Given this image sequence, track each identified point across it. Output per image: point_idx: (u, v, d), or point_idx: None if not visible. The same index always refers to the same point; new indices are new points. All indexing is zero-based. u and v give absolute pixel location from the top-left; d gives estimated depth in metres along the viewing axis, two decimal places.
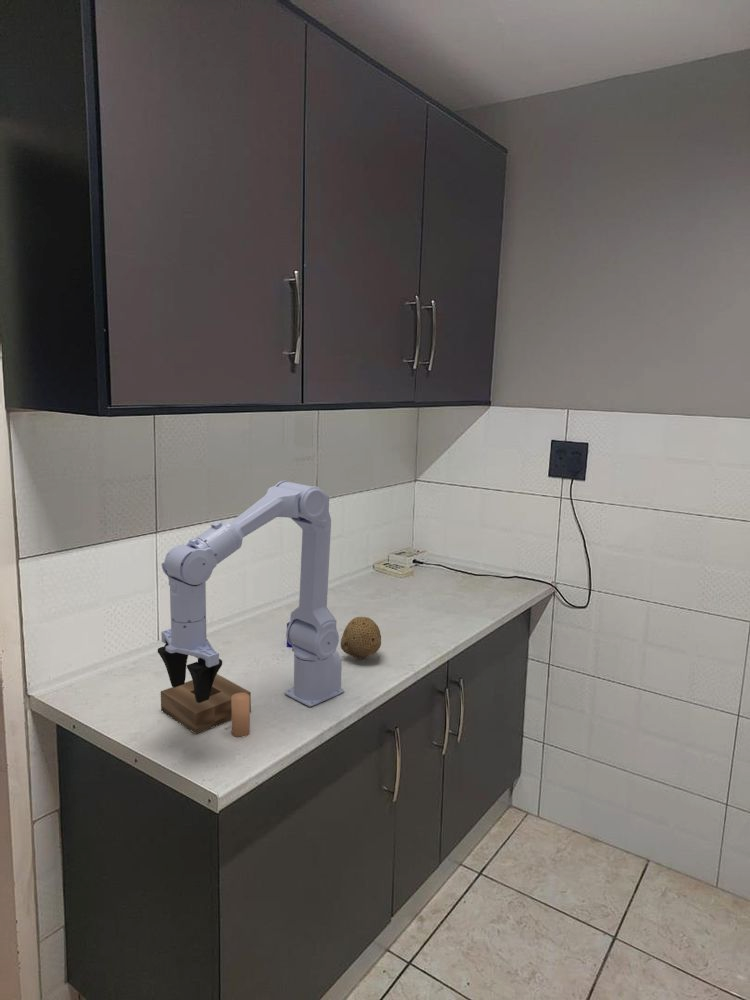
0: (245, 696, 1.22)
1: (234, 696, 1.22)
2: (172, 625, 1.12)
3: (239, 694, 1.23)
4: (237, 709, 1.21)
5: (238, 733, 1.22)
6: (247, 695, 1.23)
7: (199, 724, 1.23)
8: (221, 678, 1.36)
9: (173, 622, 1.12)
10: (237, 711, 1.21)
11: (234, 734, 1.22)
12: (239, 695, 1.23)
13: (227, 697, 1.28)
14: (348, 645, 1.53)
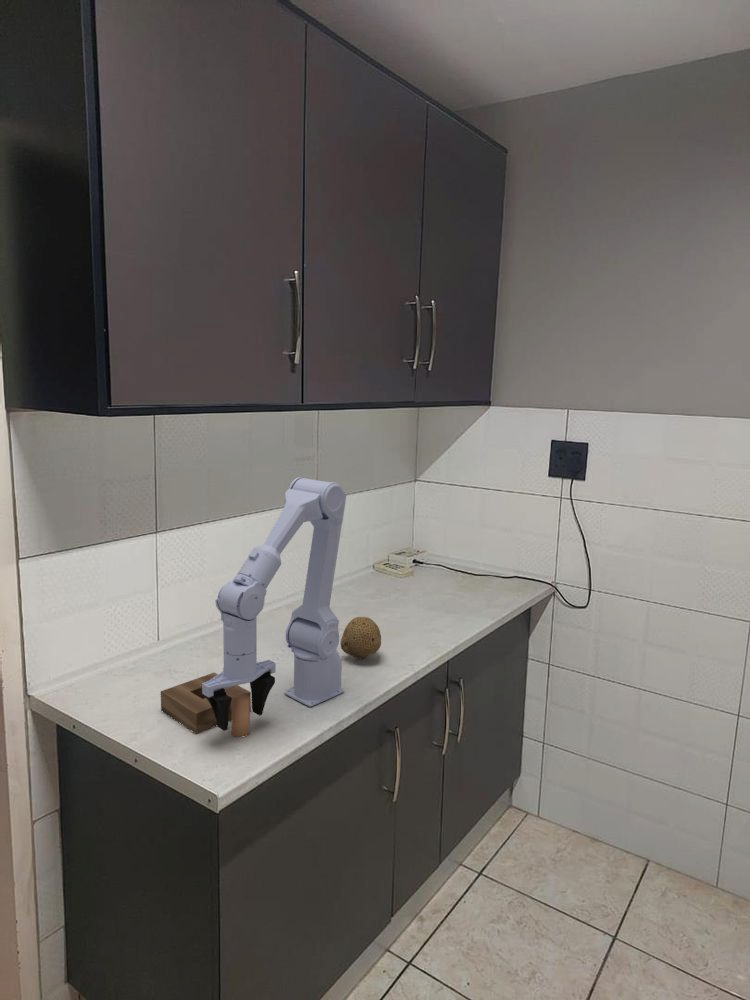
0: (245, 696, 1.22)
1: (234, 696, 1.22)
2: None
3: (239, 694, 1.23)
4: (237, 709, 1.21)
5: (238, 733, 1.22)
6: (247, 695, 1.23)
7: (199, 724, 1.23)
8: None
9: None
10: (237, 711, 1.21)
11: (234, 734, 1.22)
12: (239, 695, 1.23)
13: None
14: (348, 645, 1.53)
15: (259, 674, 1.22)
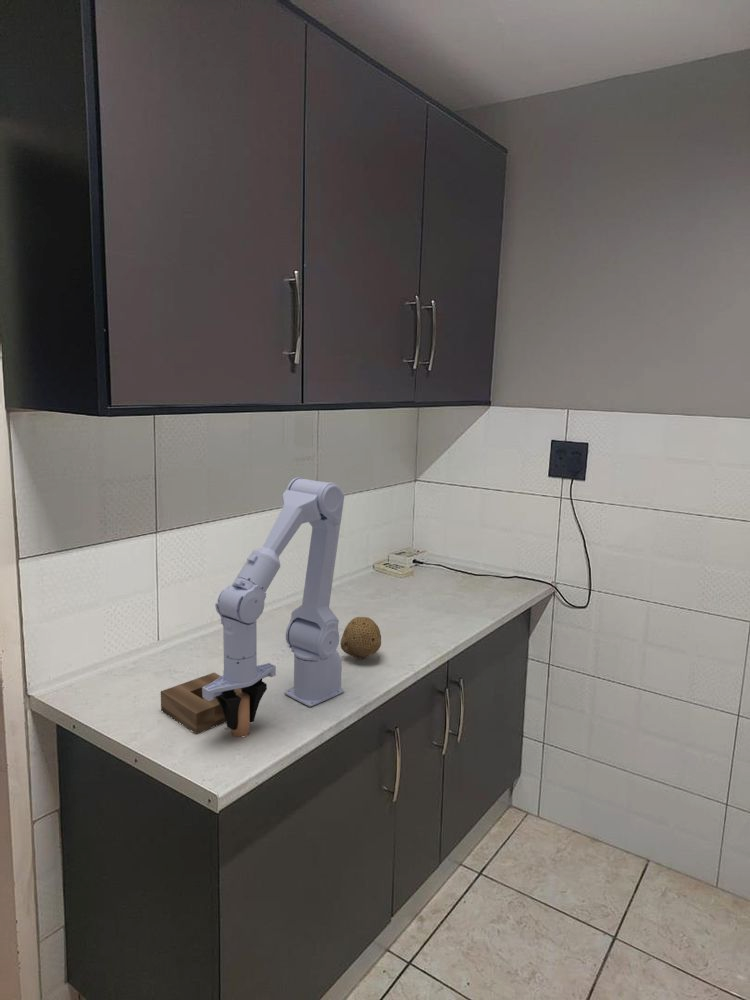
0: (245, 696, 1.22)
1: None
2: None
3: (239, 694, 1.23)
4: None
5: (238, 733, 1.22)
6: (247, 695, 1.23)
7: (199, 724, 1.23)
8: None
9: None
10: None
11: (234, 734, 1.22)
12: (239, 695, 1.23)
13: None
14: (348, 645, 1.53)
15: (259, 677, 1.22)
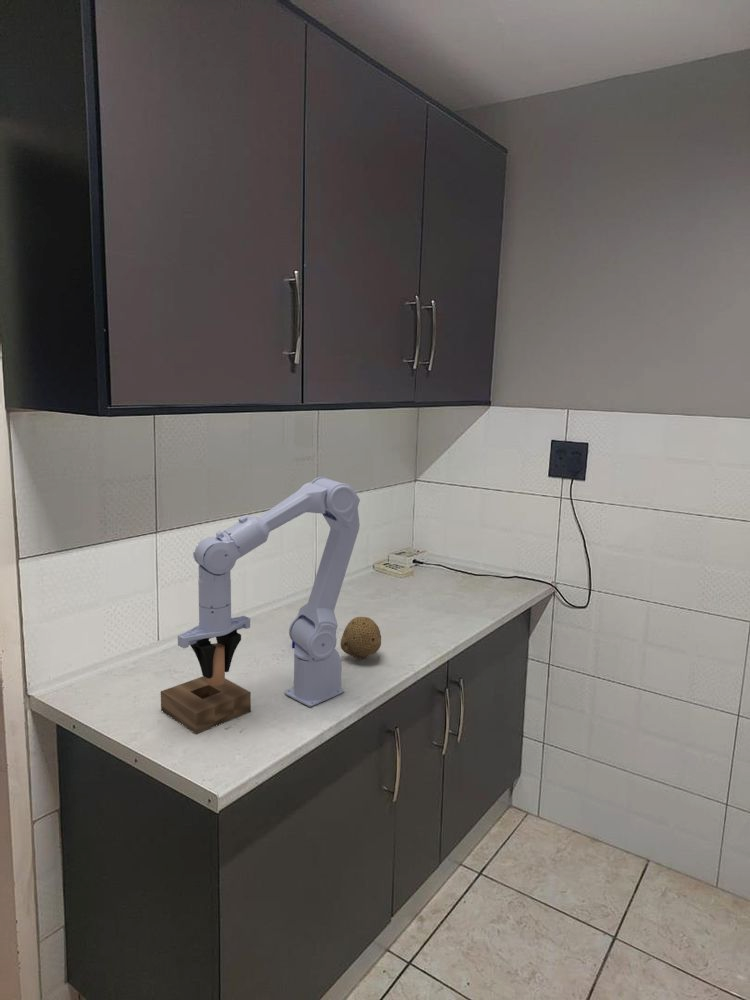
0: (220, 646, 1.26)
1: None
2: None
3: (214, 644, 1.27)
4: None
5: (213, 682, 1.25)
6: (222, 645, 1.26)
7: (199, 724, 1.23)
8: None
9: None
10: None
11: (209, 683, 1.26)
12: None
13: (227, 697, 1.28)
14: (348, 645, 1.53)
15: (234, 628, 1.25)
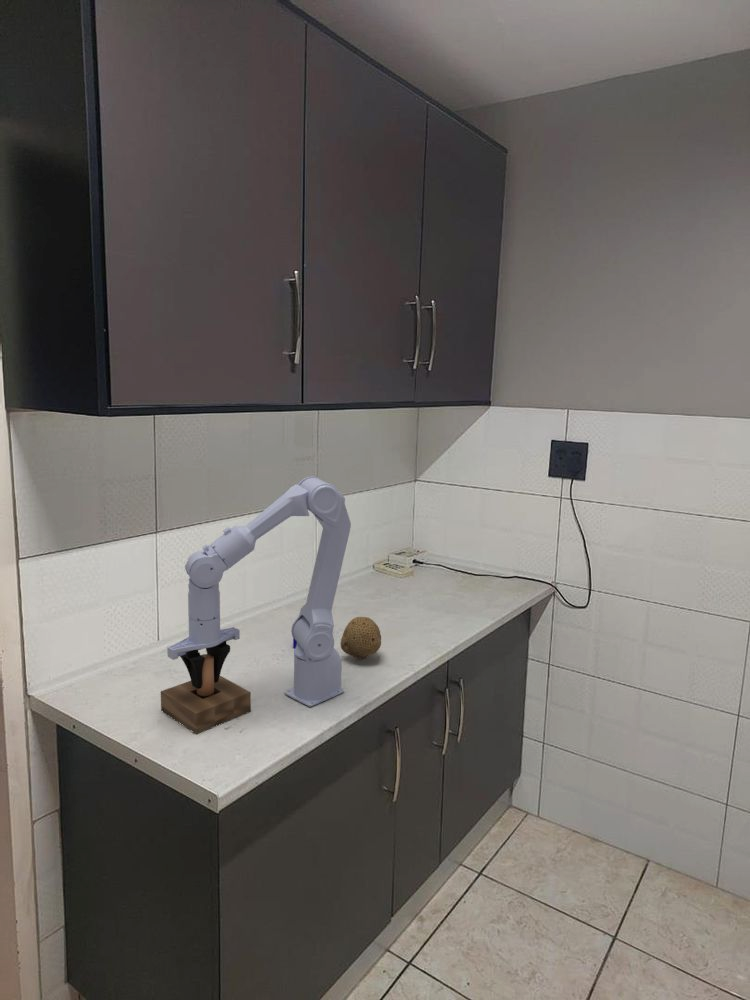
0: (209, 657, 1.29)
1: None
2: None
3: (204, 655, 1.30)
4: (202, 669, 1.28)
5: (202, 692, 1.28)
6: (211, 656, 1.29)
7: (199, 724, 1.23)
8: (221, 678, 1.36)
9: None
10: None
11: (198, 693, 1.29)
12: (203, 656, 1.29)
13: (227, 697, 1.28)
14: (348, 645, 1.53)
15: (223, 639, 1.28)
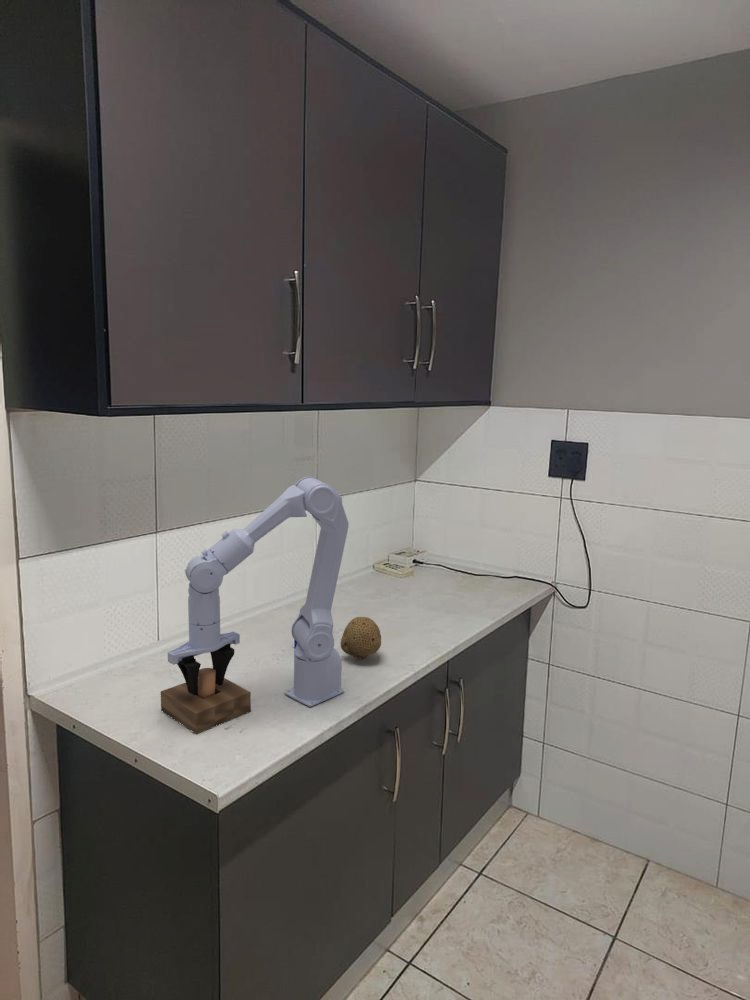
0: (211, 671, 1.30)
1: (201, 670, 1.30)
2: None
3: (205, 669, 1.30)
4: (203, 682, 1.28)
5: None
6: (213, 670, 1.30)
7: (199, 724, 1.23)
8: None
9: None
10: (202, 685, 1.28)
11: None
12: (205, 670, 1.30)
13: (227, 697, 1.28)
14: (348, 645, 1.53)
15: (223, 644, 1.29)
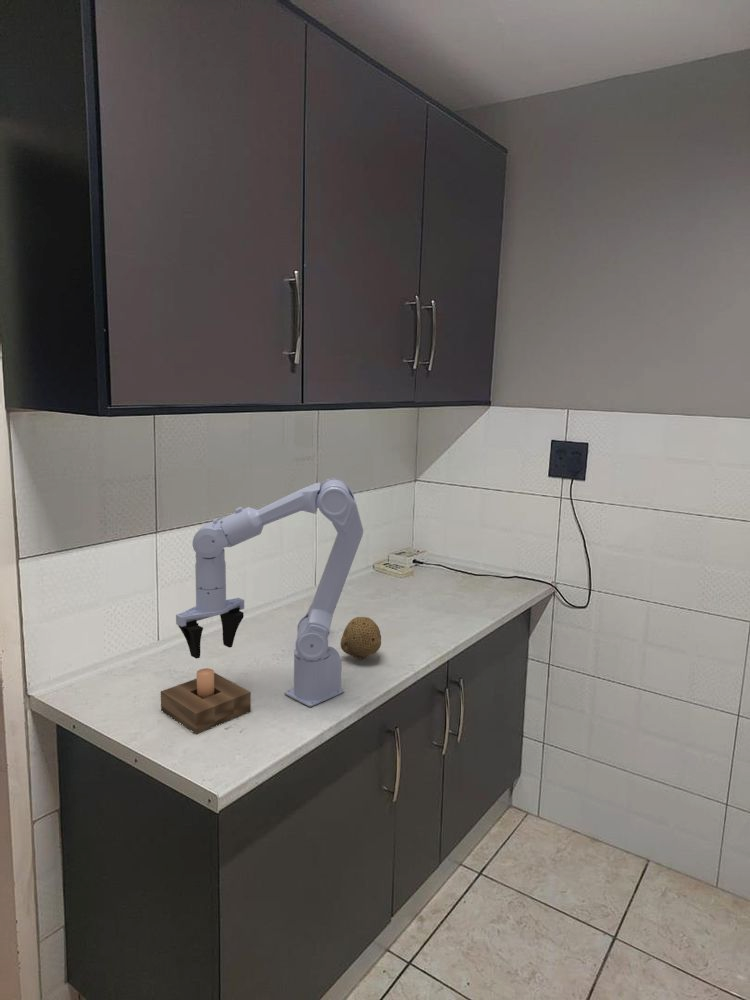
0: (210, 671, 1.29)
1: (199, 671, 1.29)
2: None
3: (204, 670, 1.30)
4: (202, 683, 1.28)
5: None
6: (212, 671, 1.30)
7: (199, 724, 1.23)
8: (221, 678, 1.36)
9: None
10: (201, 686, 1.28)
11: None
12: (204, 671, 1.30)
13: (227, 697, 1.28)
14: (348, 645, 1.53)
15: (228, 608, 1.34)
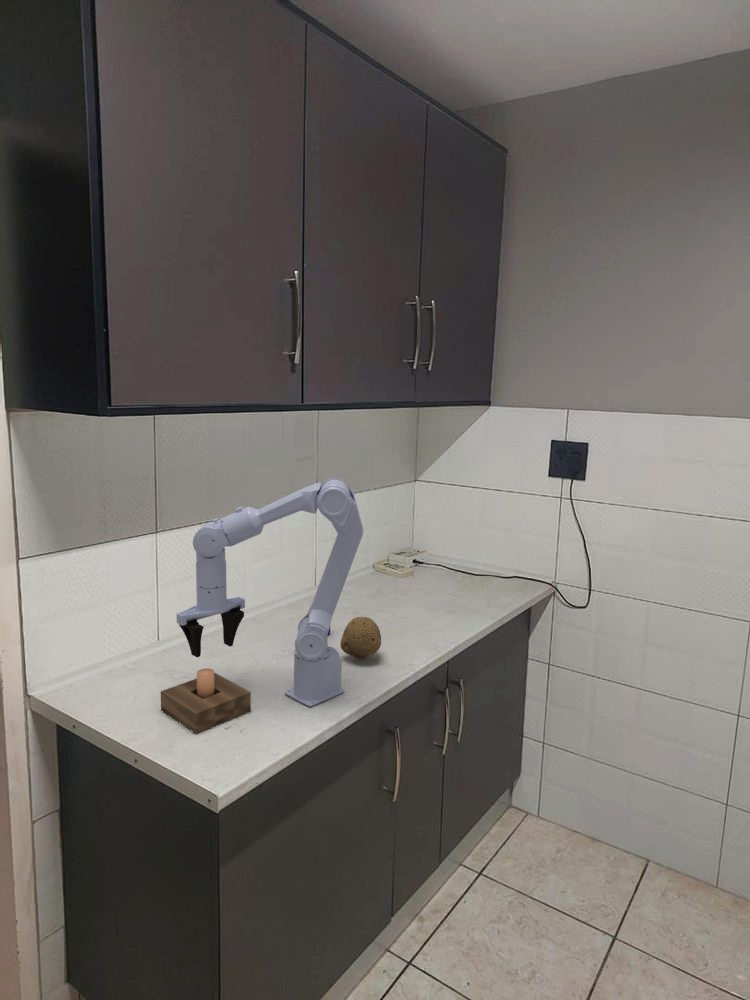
0: (210, 671, 1.29)
1: (199, 671, 1.29)
2: None
3: (204, 670, 1.30)
4: (202, 683, 1.28)
5: None
6: (212, 671, 1.30)
7: (199, 724, 1.23)
8: (221, 678, 1.36)
9: None
10: (201, 686, 1.28)
11: None
12: (204, 671, 1.30)
13: (227, 697, 1.28)
14: (348, 645, 1.53)
15: (229, 607, 1.35)
